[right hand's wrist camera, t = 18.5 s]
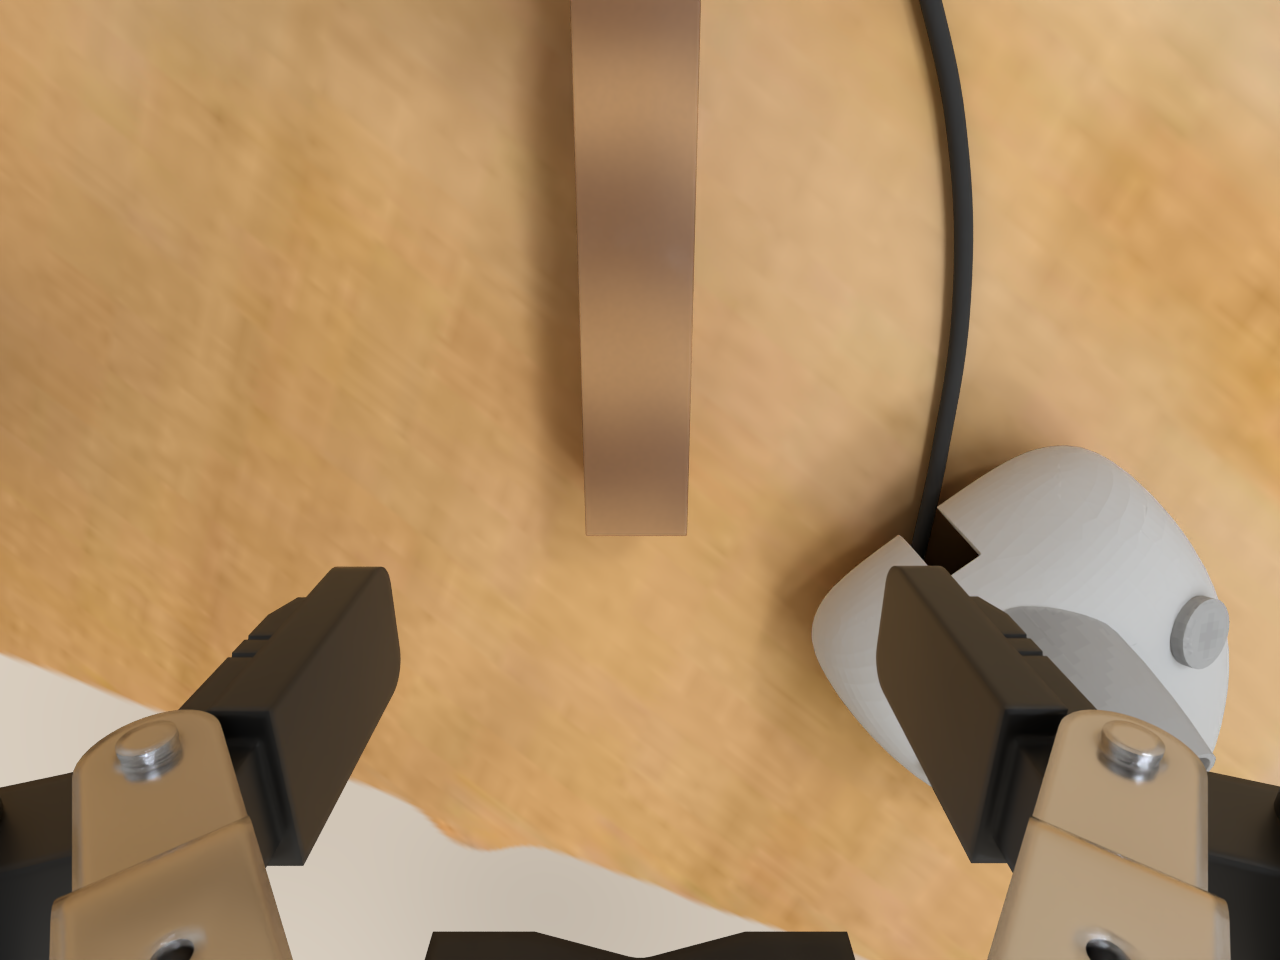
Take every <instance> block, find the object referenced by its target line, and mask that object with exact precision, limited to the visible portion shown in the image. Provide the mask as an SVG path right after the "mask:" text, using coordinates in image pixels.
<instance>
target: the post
mask: <svg viewBox="0 0 1280 960" xmlns="http://www.w3.org/2000/svg"><path fill="white" fill-rule="evenodd" d="M570 10H571V44H572V79H573V113H574V147H575V181H576V216H577V250H578V284H579V318H580V353H581V387H582V421H583V455H584V490H585V524H586V536H686V535H687V514H688V476H689V437H690V399H691V360H692V322H693V283H694V244H695V206H696V167H697V129H698V90H699V52H700V13H701V0H570Z"/></svg>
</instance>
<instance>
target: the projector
mask: <svg viewBox="0 0 1280 960" xmlns="http://www.w3.org/2000/svg"><path fill="white" fill-rule="evenodd" d="M937 508H938V509H939V511H940V512H941V513H942V514H943V515H944V517H945V518H946V519H947V520H948V521H949V522H950V523H951V525H952V526H953V527H954V528H955V529H956V530H957V531H958V532H959V533H960V534H961V536H962V537H963V538H964V539H965V540H966V541H967V542H968V543H969V544H970V546H971V547H972V548H973V549H974V550H975V551H976V552H977V553H978V554H979V556H978V557H977V558H976V559H974V560H973V561H971V562H970V563H968V564H967V565H965V566H964V567H962V568H961V569H960V570H958V571H957V572H955V573H954V574H952V575H951V576H952V577H953V578H954V579H955V580H956V581H957V583H958V584H959V585H960V586H961V587H962V588H963V589H964V591H965V592H966V593H967V594H968V595H969V596H978V597H980V598H982V599H983V600H985V601H987V602H988V603H990V604H992V605H993V606H995V607H997V608H999V609H1000V610H1002V611H1004V612H1005V613H1007V614H1008V615H1009V616H1010V617H1011V618H1012V619H1013V620H1014V621H1015V622H1016V623H1017V624H1018V626H1019V627H1020V628H1021V629H1022V630H1023V631H1024V632H1025V633H1026V634H1027V638H1031V639H1032V640H1033V642H1034V643H1035V644H1036V645H1037V646H1038V647H1039V648H1040V649H1041V650H1042V651H1043V656H1048V658H1049V659H1050V660H1051V661H1052V662H1053V663H1054V664H1055V665H1056V666H1057V667H1058V668H1059V669H1060V670H1061V671H1062V672H1063V674H1064V675H1065V676H1066V677H1067V678H1068V679H1069V680H1070V681H1071V682H1072V683H1073V684H1074V685H1075V686H1076V687H1077V689H1078V690H1079V691H1080V692H1081V693H1082V694H1083V695H1084V696H1085V697H1086V698H1087V699H1088V700H1089V701H1090V702H1091V703H1092V705H1093V706H1094V707H1095V708H1096V709H1097V710H1105V711H1112V712H1117V713H1121V714H1125V715H1128V716H1132V717H1135V718H1138V719H1140V720H1143V721H1146V722H1148V723H1150V724H1152V725H1155V726H1157V727H1159V728H1161V729H1162V730H1164V731H1166V732H1168V733H1170V734H1171V735H1173V736H1174V737H1176V738H1177V739H1179V740H1180V741H1182V742H1183V743H1184V744H1185V745H1186V746H1188V747H1189V748H1190V749H1191V750H1192V751H1193V752H1194V753H1195V754H1196V755H1197V756H1198V757H1199V759H1200V760H1201V762H1202V763H1203V765H1204V767H1205V769H1206V771H1208V772H1209V771H1210V769H1211V768H1212V767H1213V766H1214V763H1215V760H1216V758H1215V756H1214V754H1213V750H1214V748H1215V745H1216V742H1217V738H1218V735H1219V731H1220V728H1221V724H1222V719H1223V714H1224V709H1225V703H1226V697H1227V691H1228V678H1229V648H1228V640H1227V636H1228V630H1229V615H1228V611H1227V608H1226V607H1225V605H1224V603H1222V602H1221V601H1220V600H1218V597H1217V594H1216V591H1215V589H1214V586H1213V584H1212V582H1211V580H1210V577H1209V575H1208V573H1207V571H1206V568H1205V567H1204V565H1203V563H1202V562H1201V560H1200V558H1199V556H1198V555H1197V553H1196V551H1195V550H1194V548H1193V546H1192V545H1191V543H1190V542H1189V540H1188V539H1187V537H1186V536H1185V534H1184V533H1183V532H1182V530H1181V529H1180V528H1179V526H1178V525H1177V524H1176V522H1175V521H1174V520H1173V518H1172V517H1171V516H1170V515H1169V514H1168V512H1167V511H1166V510H1165V509H1164V508H1163V507H1162V506H1161V505H1160V504H1159V502H1158V501H1157V500H1156V499H1155V498H1154V497H1153V496H1152V495H1151V494H1150V493H1149V492H1148V491H1147V490H1146V489H1145V488H1144V487H1143V486H1142V485H1141V484H1140V483H1139V482H1137V481H1136V480H1135V479H1134V478H1133V477H1132V476H1131V475H1130V474H1128V473H1127V472H1126V471H1125V470H1123V469H1122V468H1120V467H1119V466H1118V465H1116V464H1115V463H1114V462H1112V461H1110V460H1109V459H1107V458H1106V457H1104V456H1102V455H1100V454H1098V453H1096V452H1093V451H1090V450H1087V449H1084V448H1081V447H1074V446H1051V447H1043V448H1039V449H1035V450H1032V451H1029V452H1026V453H1024V454H1021V455H1019V456H1017V457H1014V458H1012V459H1010V460H1009V461H1007V462H1005V463H1003V464H1001V465H999V466H998V467H996V468H994V469H993V470H991V471H989V472H988V473H986V474H985V475H983V476H982V477H980V478H978V479H977V480H975V481H974V482H972V483H971V484H969V485H968V486H967V487H965V488H964V489H962V490H961V491H959V492H958V493H956V494H955V495H953V496H952V497H951V498H949V499H948V500H946V501H945V502H943V503H942V504H941V505H939V506H938V507H937ZM892 566H927V564H926V563H925V562H924V561H923V560H922V558H921V557H920V556H919V555H918V554H917V553H916V552H915V550H914V549H913V548H912V547H911V546H910V545H909V544H908V543H907V542H906V541H905V540H904V539H903V538H902V537H901V536H900V535H897V536H896V537H895V538H893V539H892V540H891V541H889V542H888V543H886V544H885V545H884V546H882V547H881V548H880V549H878V550H877V551H876V552H874V553H873V554H872V555H870V556H869V557H868V558H866V559H865V560H864V561H862V562H861V563H860V564H859V565H858V566H856V567H855V568H854V569H853V570H851V571H850V572H849V573H848V574H846V575H845V576H844V577H843V578H842V579H841V580H840V581H839V582H838V583H837V584H836V585H835V586H834V587H833V588H832V589H831V590H830V591H829V592H828V594H827V595H826V596H825V597H824V599H823V600H822V602H821V604H820V606H819V607H818V609H817V612H816V614H815V617H814V621H813V625H812V642H813V647H814V651H815V654H816V657H817V659H818V661H819V664H820V666H821V668H822V670H823V671H824V673H825V675H826V677H827V678H828V680H829V682H830V683H831V685H832V686H833V688H834V689H835V691H836V692H837V694H838V696H839V697H840V698H841V700H842V701H843V702H844V704H845V705H846V706H847V708H848V709H849V710H850V712H851V713H852V714H853V715H854V717H855V718H856V719H857V720H858V721H859V723H860V724H861V725H862V726H863V727H864V728H865V729H866V731H867V732H868V733H869V734H870V735H871V736H872V737H873V738H874V739H875V740H876V741H877V742H878V743H879V744H880V745H881V746H882V747H883V748H884V749H885V750H886V751H887V752H888V753H889V754H890V755H891V756H892V757H893V758H894V759H896V760H897V761H898V762H899V763H900V764H902V765H903V766H904V767H905V768H906V769H908V770H909V771H910V772H911V773H912V774H914V775H915V776H916V777H918V778H919V779H921V780H922V781H924V782H925V783H927V784H928V785H929V786H931V784H930V782H929V780H928V778H927V776H926V775H925V773H924V771H923V769H922V767H921V765H920V763H919V761H918V759H917V757H916V755H915V753H914V751H913V749H912V747H911V745H910V744H909V742H908V740H907V738H906V736H905V734H904V732H903V730H902V728H901V726H900V724H899V722H898V720H897V718H896V716H895V714H894V713H893V711H892V709H891V707H890V705H889V703H888V701H887V699H886V697H885V695H884V693H883V691H882V689H881V686H880V683H879V679H878V674H877V667H876V649H877V641H878V634H879V626H880V619H881V612H882V604H883V597H884V590H885V583H886V577H887V574H888V571H889V570H890V568H891V567H892ZM931 787H932V786H931Z"/></svg>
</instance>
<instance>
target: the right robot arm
mask: <svg viewBox="0 0 1280 960" xmlns="http://www.w3.org/2000/svg"><path fill="white" fill-rule="evenodd" d="M919 1H920V5H921V9H922V13H923V17H924V21H925V25H926V29H927V33H928V37H929V41H930V45H931V49H932V53H933V58H934V62H935V66H936V71H937V75H938V81H939V86H940V91H941V97H942V103H943V109H944V116H945V123H946V131H947V140H948V149H949V158H950V168H951V179H952V192H953V210H954V279H953V301H952V317H951V330H950V340H949V349H948V357H947V364H946V371H945V378H944V384H943V390H942V396H941V401H940V407H939V412H938V418H937V423H936V429H935V434H934V440H933V446H932V451H931V457H930V462H929V468H928V473H927V478H926V483H925V488H924V492H923V497H922V501H921V506H920V510H919V514H918V519H917V523H916V527H915V532H914V536H913V540H912V545H911V547H912V548H913V549H914V550H915V552H916V553H917V554H918V555H919V556H920V557H921V558H922V560H923V561H924V559H925V555H926V550H927V546H928V542H929V538H930V533H931V529H932V525H933V521H934V517H935V513H936V509H937V504H938V500H939V496H940V491H941V487H942V482H943V477H944V472H945V467H946V462H947V456H948V451H949V446H950V440H951V435H952V430H953V425H954V419H955V414H956V409H957V404H958V398H959V393H960V387H961V381H962V375H963V369H964V362H965V355H966V347H967V338H968V329H969V318H970V304H971V287H972V264H973V205H972V185H971V171H970V159H969V148H968V138H967V129H966V120H965V112H964V104H963V98H962V91H961V85H960V79H959V74H958V69H957V64H956V59H955V54H954V50H953V45H952V41H951V36H950V32H949V28H948V24H947V20H946V16H945V12H944V8H943V4H942V0H919ZM876 667H877V674H878V679H879V683H880V686H881V689H882V691H883V693H884V695H885V697H886V699H887V701H888V703H889V705H890V707H891V709H892V711H893V713H894V714H895V716H896V718H897V720H898V722H899V724H900V726H901V728H902V730H903V732H904V734H905V736H906V738H907V740H908V742H909V744H910V745H911V747H912V749H913V751H914V753H915V755H916V757H917V759H918V761H919V763H920V765H921V767H922V769H923V771H924V773H925V775H926V776H927V778H928V780H929V782H930V784H931V786H932V788H933V790H934V792H935V794H936V796H937V798H938V800H939V802H940V804H941V806H942V807H943V809H944V811H945V813H946V815H947V817H948V819H949V821H950V823H951V825H952V827H953V829H954V831H955V833H956V835H957V837H958V838H959V840H960V842H961V844H962V846H963V848H964V850H965V852H966V854H967V856H968V858H969V860H970V862H971V863H1007V864H1008V865H1009V867H1010V869H1011V871H1012V872H1013V875H1012V878H1011V882H1010V885H1009V889H1008V892H1007V895H1006V899H1005V902H1004V905H1003V909H1002V912H1001V915H1000V919H999V922H998V925H997V929H996V932H995V935H994V939H993V942H992V945H991V949H990V952H989V956H988V959H987V960H1280V787H1279V786H1275V785H1270V784H1265V783H1260V782H1255V781H1251V780H1246V779H1241V778H1236V777H1232V776H1227V775H1222V774H1217V773H1213V772H1208V771H1206V769H1205V767H1204V765H1203V763H1202V762H1201V760H1200V759H1199V757H1198V756H1197V755H1196V754H1195V753H1194V752H1193V751H1192V750H1191V749H1190V748H1189V747H1188V746H1186V745H1185V744H1184V743H1183V742H1182V741H1180V740H1179V739H1177V738H1176V737H1174V736H1173V735H1171V734H1170V733H1168V732H1166V731H1164V730H1162V729H1161V728H1159V727H1157V726H1155V725H1152V724H1150V723H1148V722H1146V721H1143V720H1140V719H1138V718H1135V717H1132V716H1128V715H1125V714H1121V713H1117V712H1112V711H1105V710H1097V709H1096V708H1095V707H1094V706H1093V705H1092V703H1091V702H1090V701H1089V700H1088V699H1087V698H1086V697H1085V696H1084V695H1083V694H1082V693H1081V692H1080V691H1079V690H1078V689H1077V687H1076V686H1075V685H1074V684H1073V683H1072V682H1071V681H1070V680H1069V679H1068V678H1067V677H1066V676H1065V675H1064V674H1063V672H1062V671H1061V670H1060V669H1059V668H1058V667H1057V666H1056V665H1055V664H1054V663H1053V662H1052V661H1051V660H1050V659H1049V658H1048V656H1043V651H1042V650H1041V649H1040V648H1039V647H1038V646H1037V645H1036V644H1035V643H1034V642H1033V640H1032V639H1031V638H1027V634H1026V633H1025V632H1024V631H1023V630H1022V629H1021V628H1020V627H1019V626H1018V624H1017V623H1016V622H1015V621H1014V620H1013V619H1012V618H1011V617H1010V616H1009V615H1008V614H1007V613H1005V612H1004V611H1002V610H1000V609H999V608H997V607H995V606H993V605H992V604H990V603H988V602H987V601H985V600H983V599H982V598H980V597H978V596H969V595H968V594H967V593H966V592H965V591H964V589H963V588H962V587H961V586H960V585H959V584H958V583H957V581H956V580H955V579H954V578H953V577H952V576H951V575H950V574H949V572H948V571H947V570H946V569H945V568H944V567H942V566H892V567H891V568H890V570H889V571H888V574H887V577H886V583H885V590H884V597H883V604H882V612H881V619H880V626H879V634H878V641H877V649H876ZM399 672H400V647H399V639H398V632H397V625H396V618H395V611H394V604H393V596H392V589H391V582H390V578H389V575H388V572H387V571H386V569H385V568H384V567H334V568H332V569H331V570H330V571H329V572H328V573H327V574H326V576H325V577H324V578H323V579H322V580H321V581H320V582H319V583H318V585H317V586H316V587H315V588H314V589H313V590H312V591H311V592H310V594H309V595H308V596H307V597H298V598H296V599H294V600H293V601H291V602H289V603H288V604H286V605H284V606H283V607H281V608H279V609H277V610H276V611H274V612H272V613H271V614H269V615H268V616H267V617H266V618H265V619H264V620H263V621H262V622H261V623H260V624H259V625H258V626H257V627H256V628H255V629H254V630H253V631H252V632H251V634H250V635H249V638H248V640H244V641H243V642H242V643H241V644H240V645H239V646H238V647H237V648H236V649H235V650H234V652H233V653H232V657H228V658H227V659H226V660H225V661H224V662H223V663H222V664H221V665H220V666H219V667H218V668H217V669H216V671H215V672H214V673H213V674H212V675H211V676H210V677H209V678H208V679H207V680H206V681H205V682H204V683H203V684H202V685H201V686H200V687H199V689H198V690H197V691H196V692H195V693H194V694H193V695H192V696H191V697H190V698H189V699H188V700H187V701H186V702H185V703H184V704H183V705H182V707H181V708H180V709H179V710H175V711H168V712H163V713H159V714H155V715H152V716H148V717H145V718H142V719H140V720H137V721H134V722H132V723H130V724H128V725H125V726H123V727H121V728H119V729H118V730H116V731H114V732H112V733H110V734H109V735H107V736H106V737H104V738H103V739H101V740H100V741H98V742H97V743H96V744H95V745H94V746H92V747H91V748H90V749H89V750H88V751H87V752H86V753H85V754H84V755H83V756H82V758H81V759H80V760H79V762H78V763H77V765H76V767H75V769H74V771H73V772H72V773H67V774H63V775H58V776H53V777H49V778H44V779H39V780H34V781H30V782H25V783H20V784H16V785H11V786H6V787H1V788H0V960H293V959H292V956H291V952H290V949H289V945H288V942H287V939H286V935H285V932H284V929H283V926H282V922H281V919H280V915H279V912H278V909H277V905H276V902H275V899H274V895H273V892H272V889H271V885H270V882H269V879H268V875H267V872H266V866H303V865H304V863H305V862H306V860H307V858H308V856H309V854H310V852H311V850H312V848H313V846H314V844H315V842H316V841H317V839H318V837H319V835H320V833H321V831H322V829H323V827H324V825H325V823H326V821H327V819H328V817H329V816H330V814H331V812H332V810H333V808H334V806H335V804H336V802H337V800H338V798H339V797H340V795H341V793H342V791H343V789H344V787H345V785H346V783H347V781H348V779H349V777H350V775H351V774H352V772H353V770H354V768H355V766H356V764H357V762H358V760H359V758H360V756H361V754H362V752H363V751H364V749H365V747H366V745H367V743H368V741H369V739H370V737H371V735H372V733H373V731H374V730H375V728H376V726H377V724H378V722H379V720H380V718H381V716H382V714H383V712H384V710H385V708H386V707H387V705H388V703H389V701H390V699H391V697H392V695H393V693H394V691H395V688H396V686H397V682H398V678H399ZM425 960H855V957H854V954H853V951H852V947H851V944H850V940H849V937H848V933H847V932H742V933H739V934H735V935H731V936H728V937H723V938H720V939H716V940H712V941H708V942H705V943H701V944H697V945H693V946H690V947H686V948H682V949H678V950H675V951H671V952H667V953H663V954H659V955H656V956H652V957H646V958H634V957H628V956H624V955H621V954H617V953H613V952H609V951H606V950H602V949H598V948H594V947H590V946H587V945H583V944H579V943H575V942H571V941H568V940H564V939H560V938H557V937H553V936H549V935H545V934H541V933H538V932H433V933H432V937H431V940H430V944H429V947H428V951H427V954H426V957H425Z"/></svg>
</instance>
